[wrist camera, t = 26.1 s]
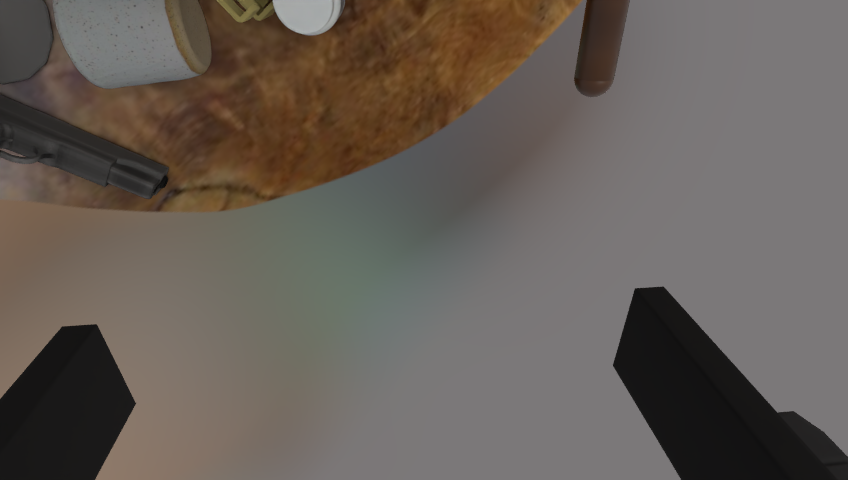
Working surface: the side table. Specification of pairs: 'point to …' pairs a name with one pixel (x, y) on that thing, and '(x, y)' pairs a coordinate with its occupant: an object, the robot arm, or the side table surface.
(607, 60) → the wooden paddle
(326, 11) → the pill bottle
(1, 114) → the handgun
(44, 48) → the cup
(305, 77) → the side table surface
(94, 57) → the ceramic mug
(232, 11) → the bracket
